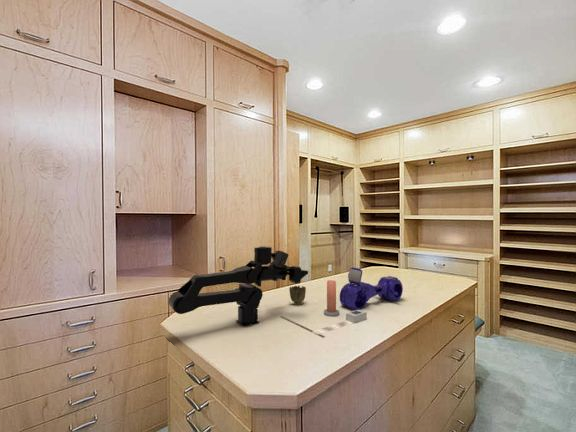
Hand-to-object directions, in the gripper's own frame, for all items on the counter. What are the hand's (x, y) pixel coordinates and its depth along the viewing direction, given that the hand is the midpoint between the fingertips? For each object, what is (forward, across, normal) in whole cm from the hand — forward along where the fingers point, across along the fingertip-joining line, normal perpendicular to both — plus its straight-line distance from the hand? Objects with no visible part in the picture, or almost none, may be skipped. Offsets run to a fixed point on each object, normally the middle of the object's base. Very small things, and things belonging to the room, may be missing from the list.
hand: (301, 270), depth 122 cm
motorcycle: (+32, -12, +16) cm, 38 cm away
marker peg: (+6, -13, +16) cm, 21 cm away
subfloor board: (+1, -15, +17) cm, 23 cm away
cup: (+3, +6, +17) cm, 18 cm away
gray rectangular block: (+9, -23, +15) cm, 29 cm away
